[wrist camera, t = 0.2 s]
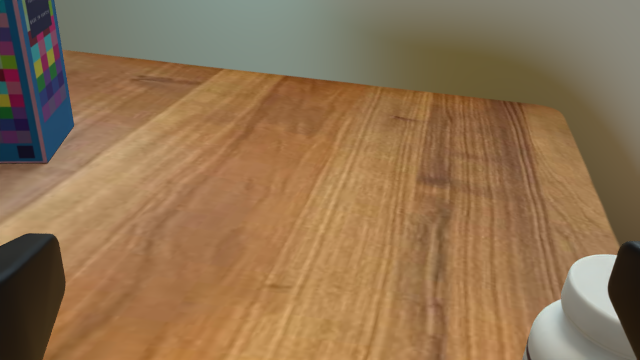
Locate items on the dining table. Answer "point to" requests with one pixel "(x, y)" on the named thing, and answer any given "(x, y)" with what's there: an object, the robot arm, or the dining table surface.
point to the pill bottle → (581, 318)
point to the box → (31, 83)
